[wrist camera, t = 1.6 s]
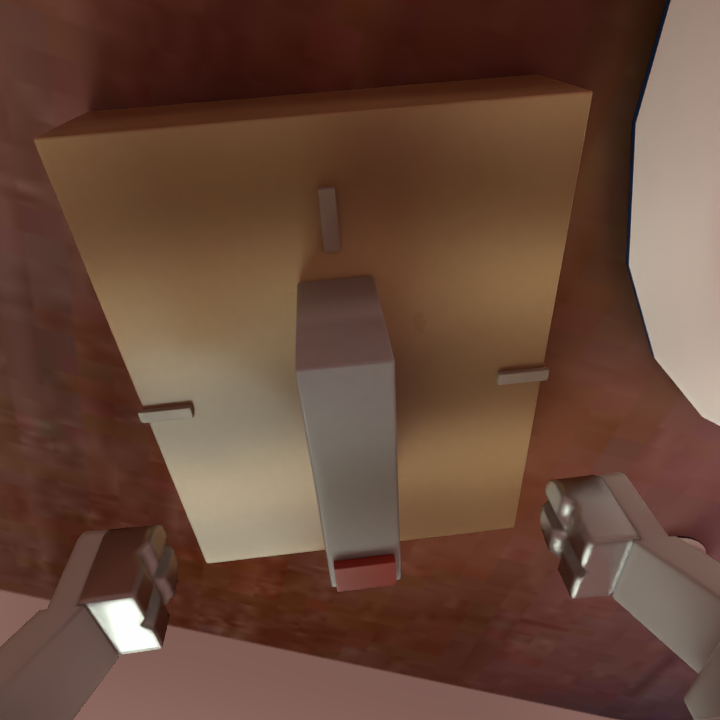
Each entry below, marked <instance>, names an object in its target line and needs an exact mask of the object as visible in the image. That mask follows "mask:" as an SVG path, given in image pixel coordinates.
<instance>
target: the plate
mask: <svg viewBox="0 0 720 720" xmlns="http://www.w3.org/2000/svg"><path fill="white" fill-rule="evenodd" d="M626 265H627V268H628V272H629V275H630V279H631V282H632V286H633V289H634V293H635V297H636V300H637V304H638V307H639V311H640V314H641V318H642V321H643V325H644V328H645V332H646V336H647V339H648V343H649V346H650V350H651V353H652V356H653V357H654V358H655V359H656V361H657V362H658V363H659V364H660V366H661V367H662V368H663V369H664V371H665V372H666V373H667V374H668V375H669V377H670V378H671V379H672V380H673V382H674V383H675V384H676V385H677V386H678V388H679V389H680V390H681V391H682V393H683V394H684V395H685V396H686V398H687V399H688V400H689V401H690V402H691V404H692V405H693V406H694V407H695V409H696V410H697V411H698V412H699V413H700V415H701V416H702V417H704V418H706V419H707V420H709V421H711V422H713V423H715V424H717V425H719V426H720V0H666V3H665V7H664V11H663V14H662V18H661V21H660V25H659V28H658V32H657V36H656V39H655V43H654V46H653V50H652V53H651V57H650V60H649V64H648V68H647V71H646V75H645V78H644V82H643V85H642V89H641V93H640V96H639V100H638V103H637V107H636V110H635V114H634V118H633V121H632V139H631V161H630V184H629V206H628V228H627V251H626Z"/></svg>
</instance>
